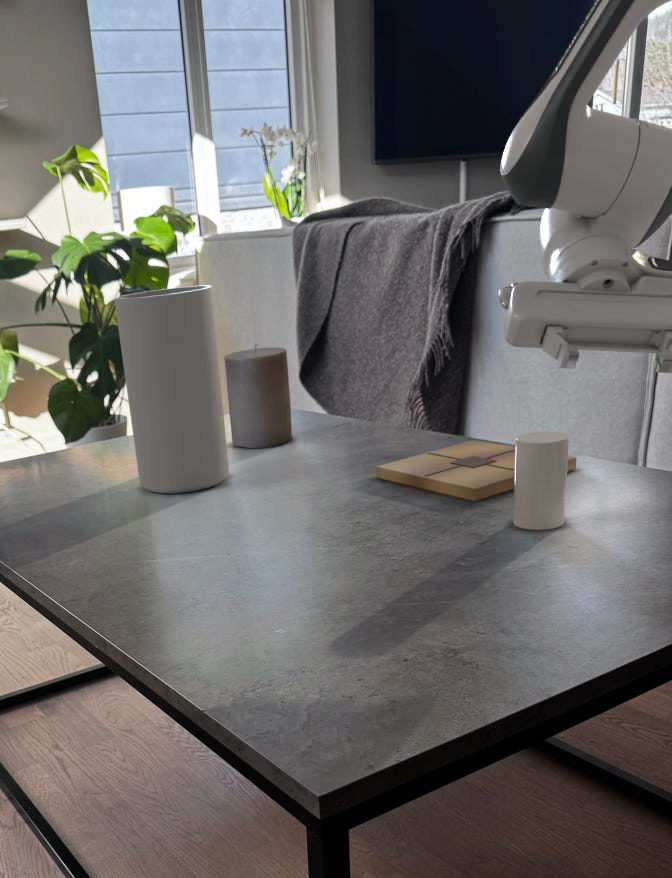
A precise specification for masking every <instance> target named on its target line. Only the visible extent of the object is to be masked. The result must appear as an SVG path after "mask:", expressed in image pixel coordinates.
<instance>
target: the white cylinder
mask: <svg viewBox="0 0 672 878" xmlns="http://www.w3.org/2000/svg"><path fill="white" fill-rule="evenodd" d="M569 445H570V436H569V434H566V433H563V432H560V431H559V432H558V431H534V432H533V431H532V432H527V433H521V434H519V435H517V436H516V438H515V447H516V450H515V480H514V489H513V513H512V515H513V516H512V523H513V525H514V526H515V527H517V528H520V529H523V530H531V531H547V530H554V529H557V528H560V527H562V526H563V525H564V524H565V516H566V513H565V512H566V497H567V481H568V480H567V478H568V472H567V463H568V456H569Z"/></svg>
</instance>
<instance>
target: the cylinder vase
mask: <svg viewBox="0 0 672 878" xmlns="http://www.w3.org/2000/svg"><path fill="white" fill-rule="evenodd" d="M213 303H214V302H213V292H212V286H211V285H193V286H182V287H172V288H163V289H154V290H147V291H140V292H135V293H134V292H133V293H129V294H124V295H119V296H116V297H114V307H115V313H116V321H117V327H118V328H117V329H118V335H119V343H120V349H121V350H120V351H121V356H122V363H123V371H124V378H125V387H126V393H127V400H128V406H129V407H128V408H129V414H130V422H131V429H132V436H133V443H134V452H135V457H136V465H137V472H138V480H139V485H140V486H141V487H142V488H143V489H144V490H146V491H148V492H151V493H156V494H183V493H191V492H197V491H202V490H206V489H209V488H212V487H215V486H217V485H220V484H222V483H223V482H224V481H225V480H227V478H228V477H229V475H230V466H229V456H228V447H227V435H226V426H225V417H224V416H225V415H224V405H223V397H222V395H223V393H222V386H221V375H220V374H221V373H220V364H219V354H218V343H217V334H216V323H215V313H214V304H213Z"/></svg>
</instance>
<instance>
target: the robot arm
mask: <svg viewBox="0 0 672 878" xmlns="http://www.w3.org/2000/svg"><path fill="white" fill-rule="evenodd" d="M671 1H672V0H595V1H594V2H593V5H592V6H591V8H590V9H589V11H588V12H587V14H586V16H585V17H584V18H583V19H584V20H583V21H582V23H581V24H580V26H579V28H578V29H577V31H576V32H575V34H574V35H573V38H572V39H571V41H570V42H569V44H568V46H567V48H566V49H565V51H564V53H563V54H562V55H561V57H560V59H559V61H558V63H557V64H556V66H555V67H554V69H553V71H552V72H551V74H550V76H549V77H548V79H547V80H546V82H545V83H544V85H543V86H542V88H541V89H540V91H539V92H538V93H537V95H536V96H535V97H534V99H533V100H532V102H531V103H530V104H529V105H528V107H527V109H526V110H525V111H524V113H523V114H522V116H521V117H520V118H519V120H518V122H517V123H516V125H515V127H513V130H512V132H511V134H510V136H509V137H508V140H507V141H506V144H505V147H504V150H503V154H502V157H501V161H500V169H499V170H500V171H499V172H500V175H501V178H502V181H503V183H504V185H505V188H506V190H507V191H508V193H509V194H510V196H511V197H512V199H513V200H514V201H515V203H516V204H517V205H519V206H525V207H531V208H539V209H544V211H543V213H542V216H541V219H540V224H539V232H538V233H539V234H538V240H539V241H538V245H539V246H538V247H539V254H540V261H541V265H542V269H543V272H544V274H545V275H546V277H547V281H537V280H536V281H535V280H526V281H520V282H514V283H511V285H509V286H504V287H501V288H500V290H499V292H498V301H499V305H500V306H501V307H502V309H504V310H506V312H505V314H504V315H505V316H504V322H503V337H504V340H505V342H506V343H508V344H509V345H510V346H512V347H515V348H528V349H529V348H532V349H542V351H543V352H545V353H546V354H548V355H549V356H550V357H552V359H555V360H556V361H557V367H558V368H559V369H576V366H577V362H578V361H579V358H580V351H593V352H597V351H599V352H619V353H638V354H639V353H641V354H657V357H655V359H654V361H653V364H652V365H653V367H654V369H655V372H656V373H660V374H661V373H662V374H672V260H669V259H664V258H661V257H656V256H653V255H651V254H648V253H644V252H642V251H640V250H639V249H636V248H637V247H640V246H641V245H642V244H643V243H645V242H646V241H647V240H648V239H649V238H651V236H653V235H654V234H655V233H656V232H657V231H658V230H659V229H660V228H661V227H662V226H663V225H664V224H665V223H666V221H667V220H668V218H670V216H671V214H672V127H667V126H663V125H660V124H657V123H653V122H649V121H646V120H642V119H638V118H630V117H627V116H626V117H625V116H622V115H619V114H614V113H611V112H608V111H603V110H600V109H596V108H592V107H590V106H589V105H588V104H589V103H590V101H591V100H592V98H593V97H594V95H595V93H596V92H597V90H598V88H599V87H600V85H601V84H602V82H603V81H604V79H605V77H606V76H607V74H608V73H609V71H610V70H611V68H612V67H613V65H614V64H615V62H616V60H617V59H618V57H619V56H620V54H621V53H622V52H623V49H624V48H625V46H626V45H627V43H628V42H629V40H630V39H631V37H632V36H633V34H634V32H635V31H636V29H638V27H639V25H640V24H641V23H642V22H643V21H644V20H645V19H646V18H647V17H648V16H649V15H650V14H651V13H653V12H654V11H655V10H656V9H658V8H660V7H662V6H663V5H665V4H667V3H669V2H671Z"/></svg>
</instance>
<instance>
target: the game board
mask: <svg viewBox="0 0 672 878" xmlns="http://www.w3.org/2000/svg"><path fill="white" fill-rule="evenodd" d="M515 450H516V446H510V445H505V444H498V443H492V442H486V441H480V440H476V439H475V440H474V439H470V440H467V441H464V442H461V443H456V444H453V445H450V446H446V447H442V448H438V449H435V450H430V451H428V452H424V453H421V454H420V453H419V454H417V455H413V456H409V457H406V458H402V459H398V460H395V461H392V462H388V463H384V464H380V465H377V466H376V469H375V470H376V471H375V473H376V479H381V480H385V481H389V482H393V483H396V484H402V485H406V486H409V487H413V488H417V489H422V490H425V491H426V490H427V491H431V492H435V493H438V494H443V495H447V496H451V497H456V498H459V499H463V500H467V501H472V502H476V501H479V500H480V501H481V500H483V499H486V498H489V497H490V498H491V497H493V496H496V495H499V494H503V493H506V492H509V491H512V490H514V480H515ZM576 469H577V457H576V456H570V455H568V463H567V473H569V472H573V471H575V470H576Z"/></svg>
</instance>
